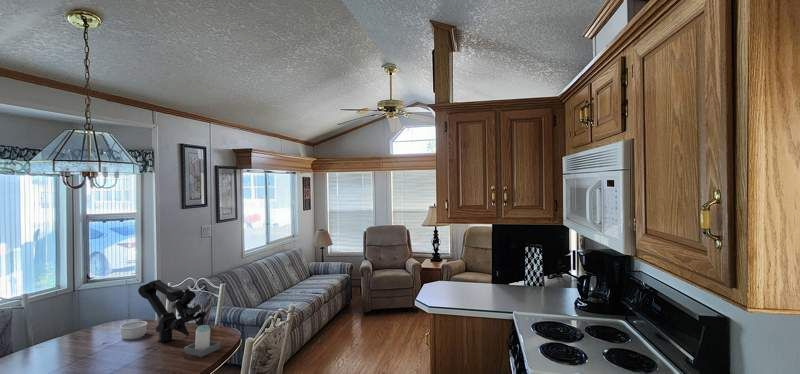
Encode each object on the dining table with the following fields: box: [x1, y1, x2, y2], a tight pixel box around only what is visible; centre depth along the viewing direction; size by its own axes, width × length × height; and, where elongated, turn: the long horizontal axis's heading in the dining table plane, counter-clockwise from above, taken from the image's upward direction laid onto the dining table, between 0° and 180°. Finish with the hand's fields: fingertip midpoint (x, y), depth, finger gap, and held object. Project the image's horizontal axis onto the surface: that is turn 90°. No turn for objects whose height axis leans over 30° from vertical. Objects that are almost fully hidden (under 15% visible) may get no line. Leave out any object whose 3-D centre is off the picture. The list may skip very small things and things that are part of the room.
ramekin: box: [119, 320, 148, 340], centre depth 220 cm, size 13×13×7 cm
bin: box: [183, 340, 222, 358], centre depth 203 cm, size 13×13×3 cm
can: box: [194, 324, 211, 351], centre depth 203 cm, size 7×7×12 cm
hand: (196, 332), depth 205 cm, fingers open, 9 cm apart
